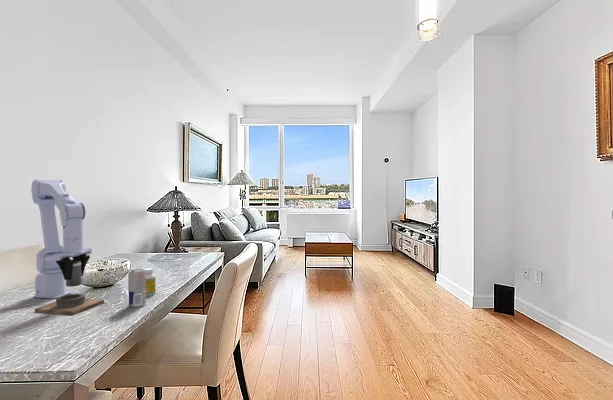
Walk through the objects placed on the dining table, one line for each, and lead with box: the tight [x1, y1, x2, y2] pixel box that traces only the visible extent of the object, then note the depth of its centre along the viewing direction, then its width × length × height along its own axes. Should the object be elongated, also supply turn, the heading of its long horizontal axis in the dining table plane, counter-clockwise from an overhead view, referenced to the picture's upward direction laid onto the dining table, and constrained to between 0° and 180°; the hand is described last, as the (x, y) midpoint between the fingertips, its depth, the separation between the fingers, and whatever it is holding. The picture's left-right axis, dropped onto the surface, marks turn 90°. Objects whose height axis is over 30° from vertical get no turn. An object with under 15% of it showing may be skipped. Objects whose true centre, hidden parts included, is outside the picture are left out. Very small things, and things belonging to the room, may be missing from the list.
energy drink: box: [127, 268, 147, 309], centre depth 127 cm, size 5×5×12 cm
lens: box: [66, 261, 82, 288], centre depth 127 cm, size 4×4×8 cm
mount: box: [34, 293, 105, 316], centre depth 125 cm, size 15×13×4 cm
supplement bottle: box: [142, 267, 156, 297], centre depth 140 cm, size 5×5×10 cm
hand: (73, 277), depth 127 cm, fingers closed on lens, 4 cm apart
